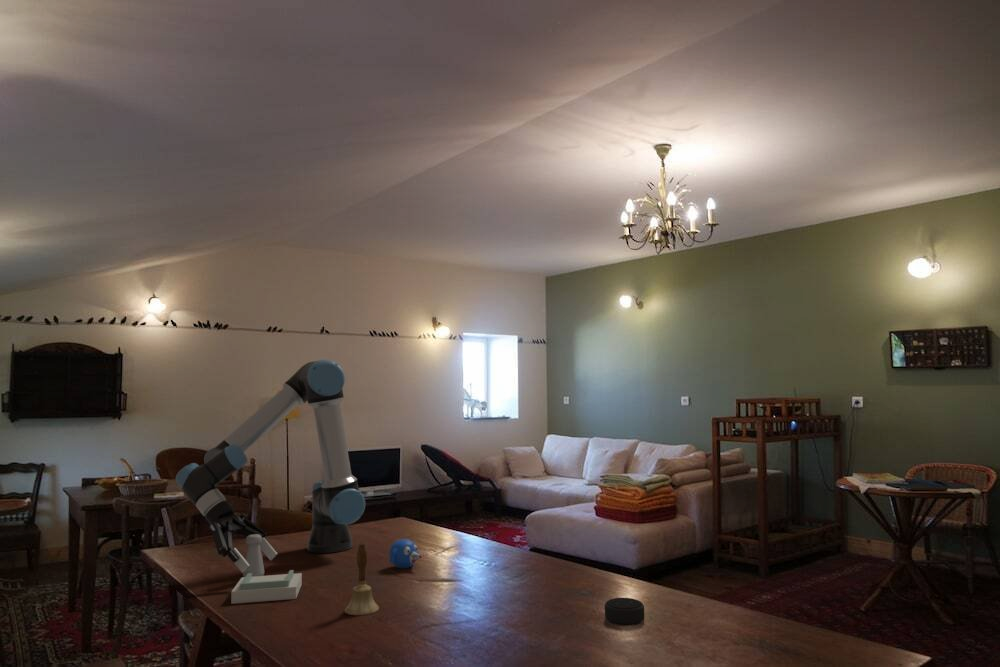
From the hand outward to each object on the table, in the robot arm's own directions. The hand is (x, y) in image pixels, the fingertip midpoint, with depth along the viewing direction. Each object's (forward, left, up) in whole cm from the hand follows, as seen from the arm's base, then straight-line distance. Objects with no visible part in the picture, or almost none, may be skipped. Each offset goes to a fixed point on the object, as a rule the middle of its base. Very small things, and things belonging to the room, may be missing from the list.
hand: (260, 562), depth 195 cm
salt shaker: (+2, -1, -5) cm, 6 cm away
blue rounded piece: (-42, -3, -5) cm, 42 cm away
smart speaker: (-88, +57, -6) cm, 105 cm away
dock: (-4, +13, -5) cm, 15 cm away
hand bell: (-29, +34, -5) cm, 45 cm away
